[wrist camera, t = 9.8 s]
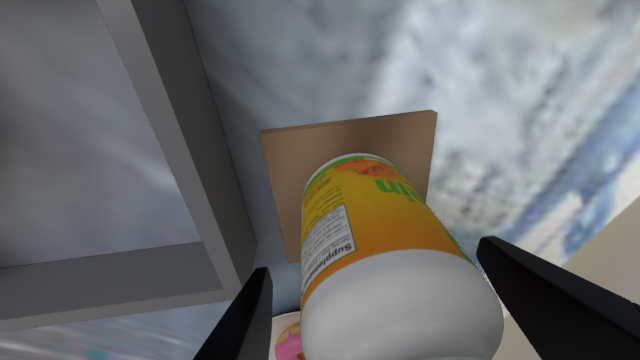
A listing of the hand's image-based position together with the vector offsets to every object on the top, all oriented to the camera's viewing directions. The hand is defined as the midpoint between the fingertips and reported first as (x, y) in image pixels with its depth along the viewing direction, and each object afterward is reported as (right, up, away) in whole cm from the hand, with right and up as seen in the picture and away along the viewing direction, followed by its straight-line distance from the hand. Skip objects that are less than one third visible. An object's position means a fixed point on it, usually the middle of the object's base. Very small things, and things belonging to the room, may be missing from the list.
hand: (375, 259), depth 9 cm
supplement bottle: (0, +2, +4) cm, 4 cm away
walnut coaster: (0, +2, +4) cm, 5 cm away
